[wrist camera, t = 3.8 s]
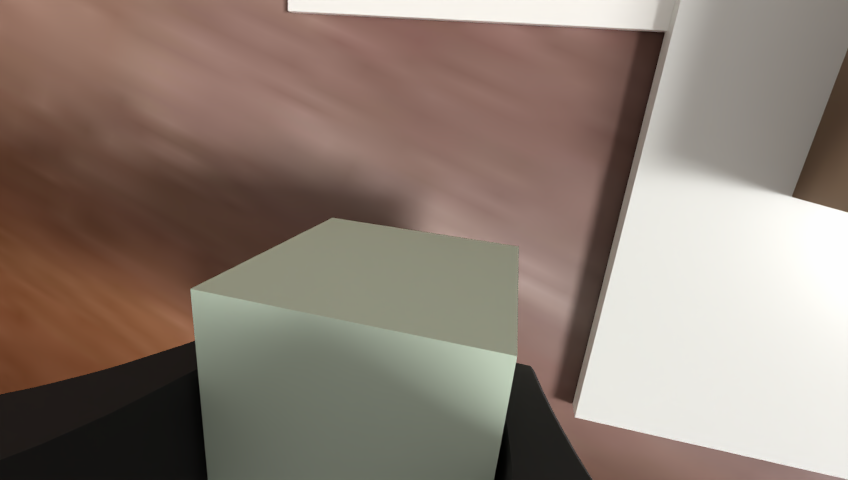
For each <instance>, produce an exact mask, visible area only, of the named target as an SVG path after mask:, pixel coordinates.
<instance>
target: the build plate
mask: <svg viewBox="0 0 848 480" xmlns="http://www.w3.org/2000/svg"><path fill="white" fill-rule="evenodd" d="M847 49H848V0H675V4H674V8H673V12H672V16H671V20H670V24H669V28H668V31H666V32H665V34H664V38H663V42H662V46H661V51H660V55H659V59H658V63H657V67H656V71H655V75H654V79H653V83H652V87H651V91H650V95H649V99H648V103H647V107H646V111H645V115H644V119H643V123H642V127H641V131H640V135H639V139H638V143H637V147H636V151H635V155H634V159H633V163H632V167H631V171H630V175H629V179H628V183H627V187H626V191H625V195H624V199H623V203H622V207H621V211H620V215H619V219H618V223H617V227H616V231H615V235H614V239H613V243H612V247H611V251H610V255H609V260H608V264H607V268H606V272H605V276H604V280H603V284H602V288H601V292H600V296H599V300H598V304H597V308H596V312H595V316H594V320H593V324H592V328H591V332H590V336H589V340H588V344H587V348H586V352H585V356H584V360H583V364H582V368H581V372H580V376H579V380H578V384H577V388H576V392H575V396H574V400H573V404H572V405H573V410H574V416H575V417H576V418H580V419H585V420H589V421H593V422H598V423H602V424H607V425H611V426H615V427H620V428H624V429H629V430H633V431H637V432H642V433H646V434H651V435H655V436H659V437H664V438H668V439H673V440H677V441H681V442H686V443H690V444H695V445H699V446H703V447H708V448H712V449H717V450H721V451H725V452H730V453H734V454H739V455H743V456H747V457H752V458H756V459H761V460H765V461H769V462H774V463H778V464H783V465H787V466H791V467H796V468H800V469H805V470H809V471H813V472H818V473H822V474H827V475H831V476H835V477H840V478H844V479H848V212H844V211H841V210H837V209H833V208H830V207H826V206H822V205H819V204H815V203H812V202H808V201H804V200H801V199H797V198H793V197H792V195H793V192H794V189H795V187H796V184H797V181H798V179H799V176H800V173H801V171H802V168H803V165H804V163H805V160H806V158H807V155H808V152H809V150H810V147H811V144H812V142H813V139H814V136H815V134H816V131H817V128H818V126H819V123H820V121H821V118H822V115H823V113H824V110H825V107H826V105H827V102H828V99H829V97H830V94H831V91H832V89H833V86H834V84H835V81H836V78H837V76H838V73H839V70H840V68H841V65H842V62H843V60H844V57H845V54H846V52H847Z"/></svg>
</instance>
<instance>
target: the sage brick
mask: <svg viewBox="0 0 848 480" xmlns="http://www.w3.org/2000/svg"><path fill="white" fill-rule="evenodd" d="M518 253H519V247H518V246H512V245H506V244H499V243H493V242H486V241H480V240H473V239H467V238H460V237H454V236H447V235H441V234H434V233H428V232H421V231H415V230H409V229H402V228H396V227H389V226H383V225H376V224H370V223H363V222H357V221H350V220H344V219H337V218H331V219H329V220H327V221H325V222H323V223H321V224H319V225H317V226H315V227H313V228H311V229H309V230H307V231H305V232H303V233H301V234H299V235H297V236H295V237H293V238H291V239H289V240H287V241H285V242H283V243H281V244H279V245H277V246H275V247H273V248H271V249H269V250H267V251H265V252H263V253H261V254H259V255H257V256H255V257H253V258H251V259H249V260H247V261H245V262H243V263H241V264H239V265H237V266H235V267H233V268H231V269H229V270H227V271H225V272H223V273H221V274H219V275H217V276H215V277H213V278H211V279H209V280H207V281H205V282H203V283H201V284H199V285H197V286H195V287H193V288H191V289H190V290H191V301H192V312H193V323H194V334H195V345H196V356H197V367H198V378H199V389H200V400H201V411H202V422H203V432H204V443H205V454H206V465H207V476H208V480H494V477H495V472H496V466H497V461H498V456H499V450H500V445H501V440H502V434H503V429H504V424H505V418H506V413H507V408H508V402H509V397H510V392H511V387H512V381H513V376H514V371H515V365H516V360H517V332H518Z"/></svg>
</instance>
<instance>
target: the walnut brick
mask: <svg viewBox="0 0 848 480" xmlns="http://www.w3.org/2000/svg"><path fill="white" fill-rule="evenodd" d="M792 197H793V198H797V199H801V200H804V201H808V202H812V203H815V204H819V205H822V206H826V207H830V208H833V209H837V210H841V211H844V212H848V49H847V52H846V54H845V57H844V60H843V62H842V65H841V68H840V70H839V73H838V76H837V78H836V81H835V84H834V86H833V89H832V91H831V94H830V97H829V99H828V102H827V105H826V107H825V110H824V113H823V115H822V118H821V121H820V123H819V126H818V128H817V131H816V134H815V136H814V139H813V142H812V144H811V147H810V150H809V152H808V155H807V158H806V160H805V163H804V165H803V168H802V171H801V173H800V176H799V179H798V181H797V184H796V187H795V189H794V192H793V195H792Z"/></svg>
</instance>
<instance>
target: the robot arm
mask: <svg viewBox="0 0 848 480" xmlns="http://www.w3.org/2000/svg"><path fill="white" fill-rule="evenodd" d="M0 480H208V476H207V465H206V454H205V443H204V432H203V422H202V411H201V400H200V389H199V378H198V367H197V356H196V345H195V341H193V342H190V343H187V344H184V345H182V346H178V347H175V348H172V349H169V350H166V351H163V352H160V353H157V354H154V355H150V356H147V357H144V358H141V359H138V360H135V361H132V362H129V363H126V364H122V365H119V366H115V367H112V368H109V369H105V370H101V371H98V372H94V373H91V374H87V375H83V376H79V377H75V378H71V379H67V380H63V381H59V382H55V383H51V384H47V385H43V386H39V387H34V388H30V389H25V390H20V391H15V392H10V393H5V394H1V395H0ZM494 480H592V478H591V477H590V475H589V473H588V472H587V470H586V469H585V467H584V465H583V464H582V462H581V460H580V459H579V457H578V455H577V454H576V452H575V450H574V449H573V447H572V445H571V443H570V442H569V440H568V438H567V436H566V434H565V433H564V431H563V429H562V427H561V426H560V424H559V422H558V420H557V418H556V416H555V414H554V412H553V410H552V408H551V406H550V404H549V402H548V400H547V398H546V396H545V394H544V392H543V390H542V388H541V385H540V383H539V381H538V379H537V376H536V374H535V372H534V370H533V369H532V367H531V366H528V365H523V364H518V363H516V365H515V371H514V376H513V381H512V387H511V392H510V397H509V402H508V408H507V413H506V418H505V424H504V429H503V434H502V440H501V445H500V450H499V456H498V461H497V466H496V472H495V477H494Z"/></svg>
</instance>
